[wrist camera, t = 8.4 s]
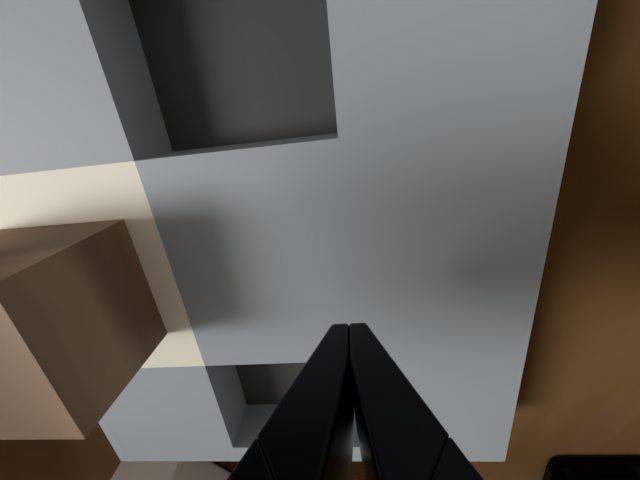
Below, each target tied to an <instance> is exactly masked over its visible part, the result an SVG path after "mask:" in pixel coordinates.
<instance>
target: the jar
mask: <svg viewBox="0 0 640 480" xmlns="http://www.w3.org/2000/svg"><path fill="white" fill-rule="evenodd" d="M230 474H231V472H229V471H227V470H226V469H224V468H222V467H220V466H219V465H217V464H215V463H214V462H212V461H121V463H120V465H119V466H118V468H117V469H116V471H115V473H114V474H113V476H112V477H111V479H110V480H226V479H227V478H228V477H229V475H230Z"/></svg>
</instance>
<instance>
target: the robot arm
mask: <svg viewBox="0 0 640 480" xmlns="http://www.w3.org/2000/svg"><path fill="white" fill-rule="evenodd" d="M354 411H355V421H356V428H357V435H358V441H359V447H360V453H361V459H362V465H363V471H364V477H365V480H484V479H483V478H482V477H481V476H480V474H479V473H478V472H477V471H476V469H475V468H474V467H473V465H472V464H471V463H470V462H469V460H468V459H467V458H466V456H465V455H464V454H463V452H462V451H461V450H460V448H459V447H458V446H457V444H456V443H455V442H454V440H453V439H452V438H449V434H448V433H447V431H446V430H445V429H444V427H443V426H442V425H441V423H440V422H439V421H438V419H437V418H436V416H435V415H434V414H433V412H432V411H431V410H430V408H429V407H428V406H427V404H426V403H425V402H424V400H423V399H422V398H421V396H420V395H419V394H418V392H417V391H416V390H415V388H414V387H413V386H412V384H411V383H410V382H409V380H408V379H407V378H406V376H405V375H404V374H403V372H402V371H401V370H400V368H399V367H398V365H397V364H396V363H395V361H394V360H393V359H392V357H391V356H390V355H389V353H388V352H387V351H386V349H385V348H384V347H383V345H382V344H381V343H380V341H379V340H378V339H377V337H376V336H375V335H374V333H373V332H372V331H371V329H370V328H369V327H368V325H367V324H366V323H351V324H350V325H348V324H346V323H343V324H333V325H331V326H330V328H329V329H328V331H327V332H326V334H325V335H324V337H323V338H322V340H321V341H320V343H319V344H318V346H317V347H316V349H315V350H314V352H313V353H312V355H311V356H310V358H309V359H308V361H307V362H306V364H305V365H304V367H303V368H302V370H301V371H300V373H299V374H298V376H297V377H296V378H295V380H294V381H293V383H292V384H291V386H290V387H289V389H288V390H287V392H286V393H285V395H284V396H283V398H282V399H281V401H280V402H279V404H278V405H277V407H276V408H275V410H274V411H273V413H272V414H271V416H270V417H269V419H268V420H267V422H266V423H265V425H264V426H263V427H262V429H261V430H260V432H259V433H258V435H257V438H258V439H254V440H253V442H252V443H251V445H250V446H249V448H248V449H247V451H246V452H245V454H244V455H243V457H242V458H241V460H240V461H239V463H238V464H237V465H236V467H235V468H234V470H233V471H232V472H231V474H230V475H229V477H228V478H227V479H226V480H351V471H352V456H353V440H354ZM543 480H640V460H554V461H551V462H549V463H548V464H547V466H546V470H545V473H544V477H543Z"/></svg>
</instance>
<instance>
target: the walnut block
mask: <svg viewBox="0 0 640 480" xmlns="http://www.w3.org/2000/svg"><path fill="white" fill-rule="evenodd" d="M166 335H167V331H166V328H165V326H164V323H163V320H162V318H161V315H160V313H159V310H158V307H157V305H156V302H155V299H154V297H153V294H152V292H151V289H150V286H149V284H148V281H147V279H146V276H145V273H144V271H143V268H142V265H141V263H140V260H139V258H138V255H137V252H136V250H135V247H134V245H133V242H132V239H131V237H130V234H129V231H128V229H127V226H126V224H125V221H124V219H118V220H107V221H95V222H83V223H72V224H60V225H49V226H37V227H26V228H14V229H2V230H0V440H44V439H86V437H87V436H88V435H89V434H90V432H91V431H92V430H93V428H94V427H95V426H96V425H97V423H98V422H99V421H100V420H101V418H102V417H103V416H104V414H105V413H106V412H107V411H108V409H109V408H110V407H111V405H112V404H113V403H114V402H115V400H116V399H117V398H118V396H119V395H120V394H121V393H122V391H123V390H124V389H125V387H126V386H127V385H128V384H129V382H130V381H131V380H132V378H133V377H134V376H135V375H136V373H137V372H138V371H139V369H140V368H141V367H142V366H143V364H144V363H145V362H146V360H147V359H148V358H149V357H150V355H151V354H152V353H153V351H154V350H155V349H156V348H157V346H158V345H159V344H160V342H161V341H162V340H163V339H164V337H165V336H166Z"/></svg>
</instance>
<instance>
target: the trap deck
mask: <svg viewBox="0 0 640 480" xmlns="http://www.w3.org/2000/svg"><path fill="white" fill-rule="evenodd" d="M597 2H598V0H0V230H2V229H14V228H26V227H37V226H49V225H60V224H72V223H83V222H95V221H107V220H118V219H124V221H125V224H126V226H127V229H128V231H129V234H130V237H131V239H132V242H133V245H134V247H135V250H136V252H137V255H138V258H139V260H140V263H141V265H142V268H143V271H144V273H145V276H146V279H147V281H148V284H149V286H150V289H151V292H152V294H153V297H154V299H155V302H156V305H157V307H158V310H159V313H160V315H161V318H162V320H163V323H164V326H165V328H166V331H167V335H166V336H165V337H164V339H163V340H162V341H161V342H160V344H159V345H158V346H157V348H156V349H155V350H154V351H153V353H152V354H151V355H150V357H149V358H148V359H147V360H146V362H145V363H144V364H143V366H142V367H141V368H140V369H139V371H138V372H137V373H136V375H135V376H134V377H133V378H132V380H131V381H130V382H129V384H128V385H127V386H126V387H125V389H124V390H123V391H122V393H121V394H120V395H119V396H118V398H117V399H116V400H115V402H114V403H113V404H112V405H111V407H110V408H109V409H108V411H107V412H106V413H105V414H104V416H103V417H102V418H101V420H100V421H99V422H98V423H99V425H100V426H101V428H102V430H103V432H104V433H105V435H106V437H107V438H108V440H109V442H110V444H111V445H112V447H113V449H114V450H115V452H116V454H117V456H118V457H119V459H120V461H240V460H241V458H242V457H243V455H244V454H245V452H246V451H247V449H248V448H249V446H250V445H251V443H252V442H253V440H254V439H258V438H257V435H258V433H259V432H260V430H261V429H262V427H263V426H264V425H265V423H266V422H267V420H268V419H269V417H270V416H271V414H272V413H273V411H274V410H275V408H276V407H277V405H278V404H279V402H280V401H281V399H282V398H283V396H284V395H285V393H286V392H287V390H288V389H289V387H290V386H291V384H292V383H293V381H294V380H295V378H296V377H297V376H298V374H299V373H300V371H301V370H302V368H303V367H304V365H305V364H306V362H307V361H308V359H309V358H310V356H311V355H312V353H313V352H314V350H315V349H316V347H317V346H318V344H319V343H320V341H321V340H322V338H323V337H324V335H325V334H326V332H327V331H328V329H329V328H330V326H331V325H333V324H343V323H346V324H348V325H350V324H351V323H366V324H367V325H368V327H369V328H370V329H371V331H372V332H373V333H374V335H375V336H376V337H377V339H378V340H379V341H380V343H381V344H382V345H383V347H384V348H385V349H386V351H387V352H388V353H389V355H390V356H391V357H392V359H393V360H394V361H395V363H396V364H397V365H398V367H399V368H400V370H401V371H402V372H403V374H404V375H405V376H406V378H407V379H408V380H409V382H410V383H411V384H412V386H413V387H414V388H415V390H416V391H417V392H418V394H419V395H420V396H421V398H422V399H423V400H424V402H425V403H426V404H427V406H428V407H429V408H430V410H431V411H432V412H433V414H434V415H435V416H436V418H437V419H438V421H439V422H440V423H441V425H442V426H443V427H444V429H445V430H446V431H447V433H448V434H449V438H452V439H453V440H454V442H455V443H456V444H457V446H458V447H459V448H460V450H461V451H462V452H463V454H464V455H465V456H466V458H467V459H468V460H469V461H505V458H506V453H507V448H508V443H509V439H510V434H511V429H512V424H513V419H514V414H515V409H516V404H517V399H518V394H519V389H520V384H521V379H522V374H523V369H524V364H525V359H526V354H527V349H528V344H529V339H530V334H531V329H532V324H533V319H534V314H535V309H536V304H537V299H538V295H539V290H540V285H541V280H542V275H543V270H544V265H545V260H546V255H547V250H548V245H549V240H550V235H551V230H552V225H553V220H554V215H555V210H556V205H557V200H558V195H559V190H560V185H561V180H562V175H563V170H564V165H565V160H566V155H567V151H568V146H569V141H570V136H571V131H572V126H573V121H574V116H575V111H576V106H577V101H578V96H579V91H580V86H581V81H582V76H583V71H584V66H585V61H586V56H587V51H588V46H589V41H590V36H591V31H592V26H593V21H594V16H595V11H596V6H597ZM352 461H362V459H361V453H360V447H359V441H358V435H357V428H356V421H355V411H354V440H353V456H352Z"/></svg>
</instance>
